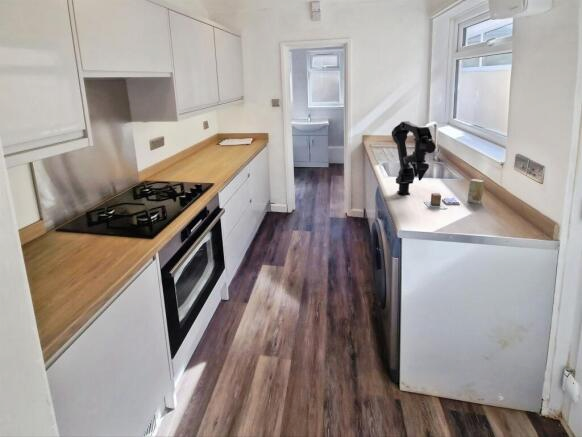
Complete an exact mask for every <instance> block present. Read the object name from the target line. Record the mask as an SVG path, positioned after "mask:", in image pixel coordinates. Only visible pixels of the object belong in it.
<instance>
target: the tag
mask: <svg viewBox="0 0 582 437" xmlns="http://www.w3.org/2000/svg"><path fill="white" fill-rule="evenodd" d="M423 203H424V205H426V207H427V208H428V209H429V210H448V207H446V205H444V204H443V202H440V206H432V205H431V204H430V203H431V201H423Z"/></svg>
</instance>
